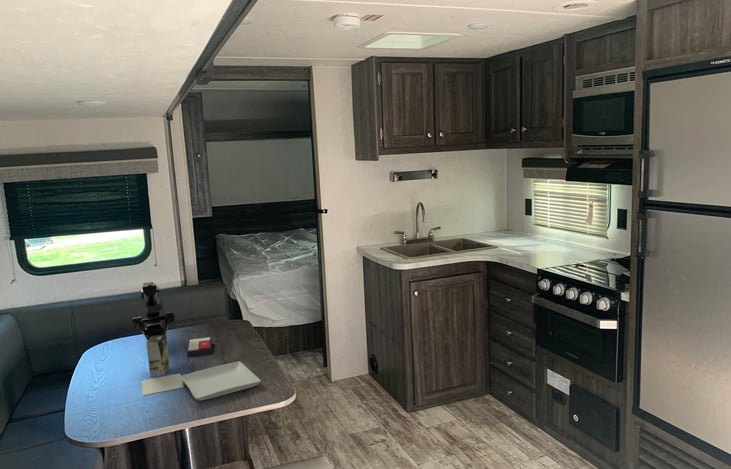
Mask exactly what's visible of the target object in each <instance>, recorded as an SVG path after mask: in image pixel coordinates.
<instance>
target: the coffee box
mask: <svg viewBox="0 0 731 469" xmlns="http://www.w3.org/2000/svg"><path fill="white" fill-rule="evenodd" d="M146 350H147V359H148V368H149V376H150V377H162V376H161V375H163V376H166V374H167V372H168V370H170V368H171V367H170V358H169V357H170V356H169V348H168V340H167V334H165V335H157V336H152V337H151V338H150V339H149V340H146Z"/></svg>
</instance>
